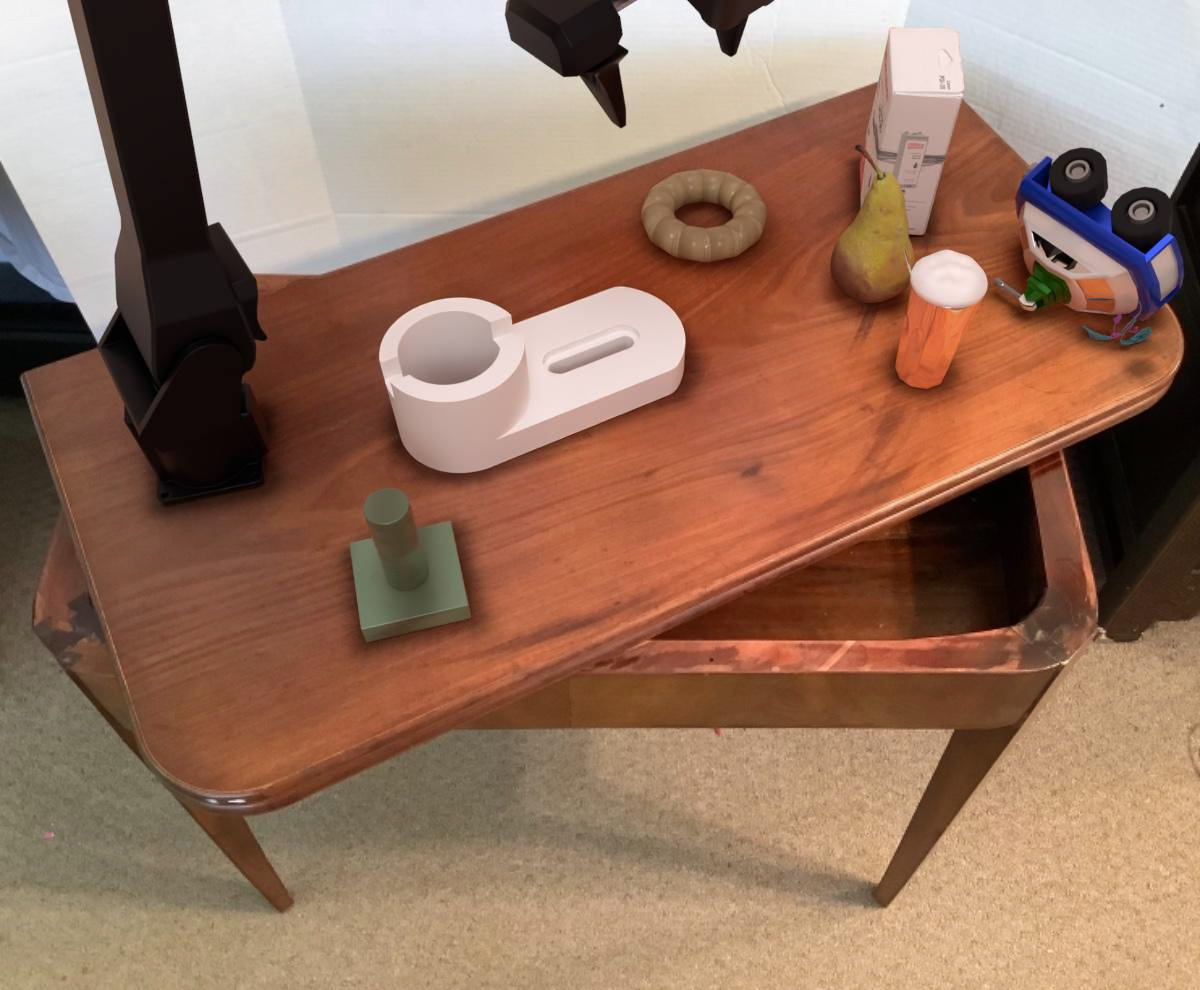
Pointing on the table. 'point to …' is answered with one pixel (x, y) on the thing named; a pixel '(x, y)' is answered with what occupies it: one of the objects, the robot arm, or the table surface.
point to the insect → (1139, 336)
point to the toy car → (1093, 240)
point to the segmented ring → (697, 239)
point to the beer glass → (937, 315)
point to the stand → (405, 571)
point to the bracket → (524, 373)
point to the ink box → (914, 116)
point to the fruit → (875, 244)
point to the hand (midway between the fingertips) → (674, 88)
